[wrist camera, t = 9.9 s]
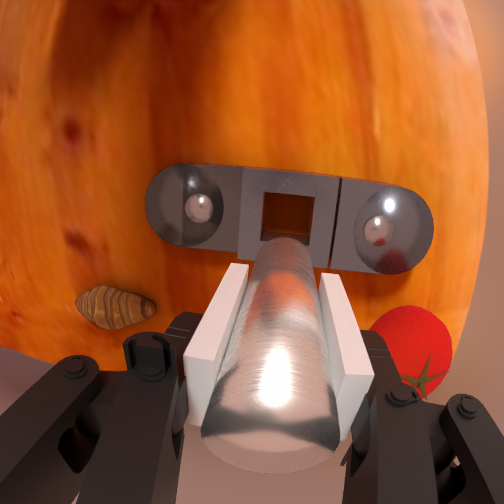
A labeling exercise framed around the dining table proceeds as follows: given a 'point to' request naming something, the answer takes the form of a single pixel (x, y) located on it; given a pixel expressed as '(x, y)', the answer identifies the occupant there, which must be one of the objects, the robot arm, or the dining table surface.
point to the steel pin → (275, 372)
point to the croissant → (114, 307)
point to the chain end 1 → (201, 206)
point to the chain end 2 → (342, 220)
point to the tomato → (416, 346)
